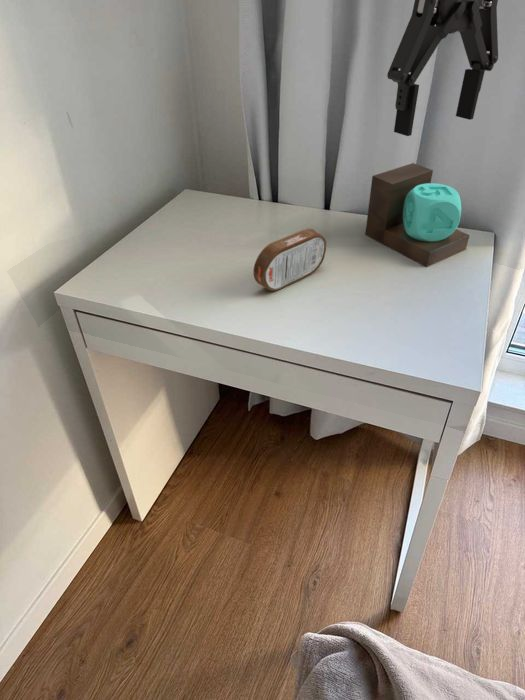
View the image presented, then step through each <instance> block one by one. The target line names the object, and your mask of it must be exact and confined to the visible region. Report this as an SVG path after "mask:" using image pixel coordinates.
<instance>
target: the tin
mask: <svg viewBox="0 0 525 700" xmlns="http://www.w3.org/2000/svg"><path fill="white" fill-rule="evenodd" d="M326 252H327V240H326V238H325V237H324V236H323V235H322V234H321V233H319V232H317V231H316V230H315V229H314V228H311V227H310V228H309V227H308V228H304V229H301V230H299V231H297V232H294V233H292V234H290V235H287V236H285V237H282V238H280V239H277V240H275V241H272V242H270V243H269V244H267V245H266V246H265V247H264V248H263V249H262V250H261V251H260V253H259V254H258V255H257V257H256V260H255V262H254V265H253V278H254V280H255V282H256V283H257V284H258V285H260V286H261V287H263V288H265V289H266V290H268V291H272V292H274V291H275V292H276V291H279V290H282V289H284V288H285V287H288V286H290V285H292V284H294V283H296V282H298V281H301V280H303V279H305V278H306V277H310V276H312V275H313V274H314V273H315V272H316V271H317V270H318V269H319V268H320V266H321V265H322V264H323V262H324V260H325V257H326V256H325V255H326Z"/></svg>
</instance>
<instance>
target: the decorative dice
mask: <svg viewBox="0 0 525 700" xmlns="http://www.w3.org/2000/svg"><path fill="white" fill-rule="evenodd" d="M461 218H462V200H461V196H460V194H459V192H458V191H457V189H456V188H454V187H453V186H450V185H446V184H442V183H437V182H436V183H434V182H433V183H432V182H431V183H426V184H421V185H418V186H416V187H414V188H413V189H412V190H411V191H410V192H409V193H408V194H407V196H406V198H405V201H404V206H403V224H404V228H405V231H406V233H407V234H408V235H409V236H410V237H412V238H414V239H417V240H420V241H426V242H436V241H441V240H443V239H445V238H447V237H448V236H450V235H451V234H452V233H453V232H454V231H455V230H456V229H457V230H458V227H459V225H460V221H461Z"/></svg>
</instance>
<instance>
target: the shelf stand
mask: <svg viewBox="0 0 525 700" xmlns="http://www.w3.org/2000/svg"><path fill="white" fill-rule="evenodd" d="M433 173H434V170H433V169H431V168H428V167H425V166H422V165H420V164H417V163H414V162H411V163H409V164H406V165H403V166H399V167H396V168H393V169H390V170H387V171H384V172H380V173H377V174H373V175H372V177H371V185H370V191H369V192H370V193H369V200H368V209H367V218H366V225H365V232H364V233H365V235H366V236H367V237H369V238H371V239H373V240H375V241H377V242H379V244H380V243H381V244H383V245H385V246H386V247H388V248H390V249H392V250H394V251H396V252H398V253H399V254H401V255H403V256H405V257H407V258H409V259H411V260H413V261H415V262H416V263H418V264H420V265H422V266H424V267H426V268H428V267H430V266H433V265H434V264H437V263H439V262H441V261H443V260H445V259H448V258H450V257H452V256H454V255H457V254H459V253H461V252H463V251H465V250H467V247H468V244H469V239H470V234H468V233H467V232H464V231H462V230H459V229H458V228H457V229H456V230H455V231H454V232H453V233H452V234H451V235H450V236H448V237H447V238H445V239H443V240H441V241H436V242H426V241H420V240H417V239H414V238H412V237H410V236H409V235H408V234H407V233H406V231H405V228H404V224H403V206H404V201H405V198H406V196H407V194H408V193H409V192H410V191H411V190H412V189H413V188H414V187H416V186H418V185H421V184H426V183H432V177H433Z"/></svg>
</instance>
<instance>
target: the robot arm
mask: <svg viewBox="0 0 525 700" xmlns="http://www.w3.org/2000/svg"><path fill="white" fill-rule="evenodd" d="M498 2H499V0H414V3H413V7H412V12H411V16H410V19H409V21H408V23H407V26H406V28H405V31H404V32H403V35H402V37H401V40H400V42H399V45H398V47H397V49H396V52H395V54H394V57H393V59H392V61H391V64H390V66H389V69H388V70H387V75H386V77H387V79H388V80H392V82H393V83H397V89H396V97H395V98H396V99H395V104H394V105H395V109H396V113H395V121H394V128H393V133H396V134H399V135H402V136H405V137H410V136H412V133H413V128H414V120H415V115H416V108H417V102H418V95H419V90H420V84H417V83H416V82H417V80H418V79H419V77H420V75H421V73H422V72H423V70H424V69H425V67H426V66H427V64H428V62H429V60H430V59H431V58H432V55H433V54H434V53H435V51H436V49H437V48H438V46H439V44H440V43H441V42H442V40H443V39H446V38H447V37H448V35H449V34H450V35H451V34H455V33H457V32H459V34H460V37H461V41H462V44H463V47H464V51H465V54H466V57H467V60H468V64H469V66H470V68H466V69H465V70H464V73H463V78H462V84H461V88H460V93H459V97H458V103H457V108H456V113H455V117H457V118H462V119H465V120H470V121H471V120H473V119H474V117H475V113H476V108H477V104H478V99H479V94H480V92H481V89H482V85H483V80H484V76H485V72H486V71H487V72H491V71H492V70H493V68H494V65H495V64H496V63H497V62H498V61H499V39H498V9H497V8H498Z"/></svg>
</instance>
